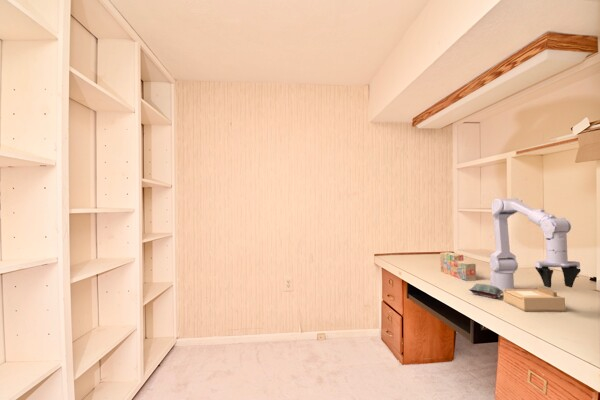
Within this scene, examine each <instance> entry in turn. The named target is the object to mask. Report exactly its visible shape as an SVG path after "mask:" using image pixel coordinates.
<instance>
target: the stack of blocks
mask: <svg viewBox="0 0 600 400" xmlns="http://www.w3.org/2000/svg"><path fill="white" fill-rule="evenodd" d="M439 255H440V257H439V258H440V260H439V261H440V272H441V273H444V274H445V275H449V276H451V277H455V278H457V279H460V280H462V281H466V282H467V281H469V282H471V281H477V274H476V273H477V272H476V270H477V267H476V266H477V264H476V263H474V262H470V261H467V260H464V255H463V254H460V253H455V252H451V251H443V252H440V253H439Z"/></svg>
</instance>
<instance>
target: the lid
mask: <svg viewBox="0 0 600 400" xmlns="http://www.w3.org/2000/svg"><path fill="white" fill-rule="evenodd" d="M536 289H537V290H506V292H507V293H510V294H512V295H514V296H517V297H519V298H521V299H522V297H561V296H560V295H558V292H556V291H553V290H551V289H548V288H545V287H541V286H536Z"/></svg>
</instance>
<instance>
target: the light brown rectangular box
mask: <svg viewBox="0 0 600 400" xmlns="http://www.w3.org/2000/svg"><path fill="white" fill-rule="evenodd" d="M506 290H537V288H514V289H503V294H502V295H503V302H504V303H506V304H508V305H510V306H512V307H514V308H515V309H518V310H519V311H522V312H525V313H526V312H527V313H528V312H529V313H531V312H532V313H534V312H535V313H542V312H543V313H545V312H547V313H550V312H552V313H553V312H554V313H555V312H557V313H559V312H560V313H562V312H563V313H565V312H566V298H565V297H564V296H560V297H522V299H521V298H519V297H517V296H514V295H512V294H510V293H507V292H506Z"/></svg>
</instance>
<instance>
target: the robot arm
mask: <svg viewBox="0 0 600 400" xmlns="http://www.w3.org/2000/svg"><path fill="white" fill-rule="evenodd" d="M490 205H491V214H492V217H493V218H492V219H493V231H494V241H495V242H494V243H495V251H494V252H492V253H491V254H490V256H489V257H490V259H489V263H488V264H489V266H490V269H491V272H490V274H489V281H490V284H489V285H492V286H495V287H497V288H499V289H500V290H502V291H503V289H515V284H514V283H515V278H514V274H515V273H516V271H517V270H518V267H519V263H518V261H517V258H516V257H517V256H516V255H515V254H514V253H512V252H511V251H510V250H511V249H510V248H511V247H510V236H509V235H510V234H509V226H508V225H509V224H508V218H510V216H512V215H513V216H514V215H515V214H517V213H519V214H521V215H523V216H526V217H527V218H528V220H529V221H530V222H531V223H533V224H535V225H536V226H538V227H540V230H541V231H542V233H543V237H544V238H545V255H546V260H540V261H534V268H535V270H536V271H537V273H538V275H539V276H540V278H541V280H542V282H543V286H544V287H547V288H552V277H553V273H554V270H553V269H551V268H561V269H560V270H562V271H561V272H562V274H563V281H564V285H565V287H568V288H573V287H574V286H573V285H574V283H575V280H576V278H577V276H578V275H579V274H580V273H581V263H580V262H579V261H576V260H575V261H572V260H571V261H570V260H569V259H568V239H567V238H568V237H567V236H568V235H567V233H570V231H571V229H572V225H571V223H570V220H568V219H567V218H565V217H556V216H555V215H554V214H550V213H548V212H547V211H546V210H545V209H543V208H536V209H534V208H532V207H531V206H529V205H528V204H526V203H524V202H523V200H522V199H520V198H518V197H517V198H516V197H514V198H495V199H494V200H493V201H492V202H491V204H490Z"/></svg>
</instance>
